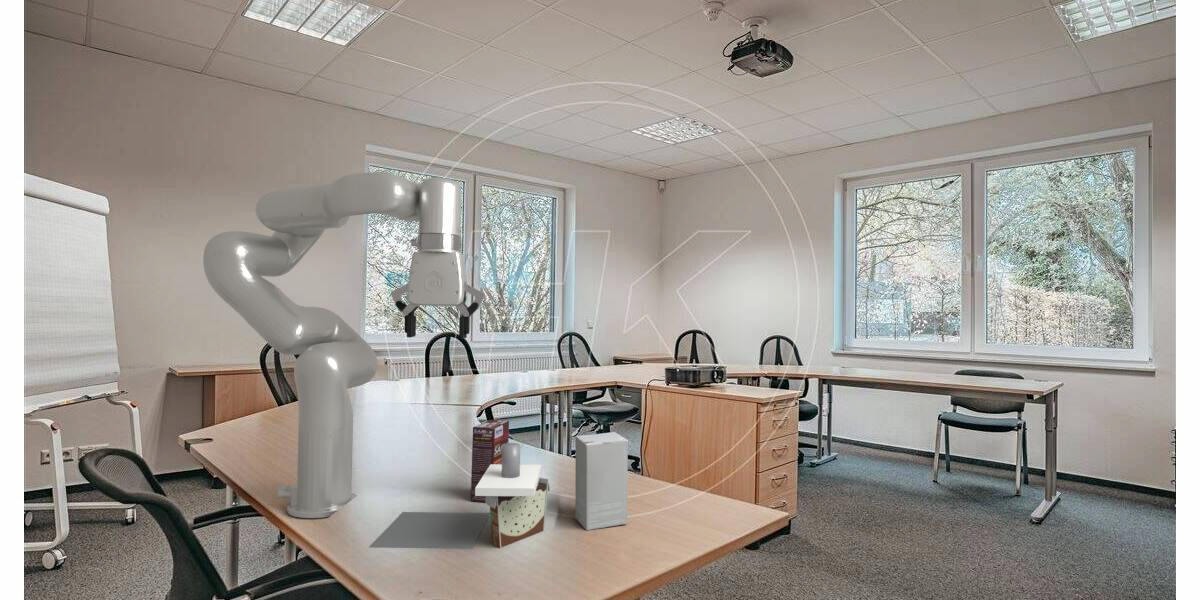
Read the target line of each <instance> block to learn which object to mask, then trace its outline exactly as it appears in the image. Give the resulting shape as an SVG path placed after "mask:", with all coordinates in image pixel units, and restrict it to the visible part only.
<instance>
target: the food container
mask: <svg viewBox="0 0 1200 600" xmlns="http://www.w3.org/2000/svg"><path fill="white" fill-rule="evenodd" d="M548 492H551V486H550V482H549V478H545V477H540V478H539V481H538V484H537V488H536V491H535V495H534V496H486V499H485V502H486V503H485V504H486V505H487V506H489V513H490V516H489V518H490V529H491V543H492V544H493V545H494V546H495V547H497V548H498V549H501V548H504V547H506V546H509V545H512V544H514V543H517V542H519V541H522V540H525V539H526V538H529V537H532V536H534V535H537V534H539V533H541V532H545V527H546V525H545V524H546V515H547V514H546V513H547V503H548Z"/></svg>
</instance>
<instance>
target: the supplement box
mask: <svg viewBox="0 0 1200 600" xmlns="http://www.w3.org/2000/svg"><path fill="white" fill-rule="evenodd" d="M509 432H510V420H505V419H504V420H502V419H501V420H500V419H488V420H486V421H484V422H482V423H480V424H478V425H474V426H473V427H472V445H471V446H472V447H471V477H470V503H480V504H486V502H485V499H486V496H475V488H476V486H477V485H478V483H479V481H480V480H481V478H482V477H483V475H484V474H485V472H486V471H487V469H488V467H489V466H490V464H502V445H503V444H507V443H510V442H509V438H510V436H509V435H510V433H509Z"/></svg>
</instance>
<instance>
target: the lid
mask: <svg viewBox="0 0 1200 600" xmlns="http://www.w3.org/2000/svg"><path fill="white" fill-rule="evenodd" d="M541 475H542V464H521V444H520V443H516V442H509V443H507V444H503V445H502V464H490V466H489V467H488V469H487V471H486V472H485V474H484V475H483V477H482V478H481V480H480V481H479V483H478V485H477V486H476V488H475V496H534V495H535V491H536V488H537V484H538V481H539V478H541Z"/></svg>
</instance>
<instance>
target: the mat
mask: <svg viewBox="0 0 1200 600" xmlns="http://www.w3.org/2000/svg"><path fill="white" fill-rule="evenodd" d="M489 518H490V512H441V511H439V512H436V511H434V512H431V511H430V512H429V511H428V512H427V511H426V512H425V511H402V512H401V513H400V514H399V515H398V516H397V518H395V519H394V520H393V521H392V522H391V524H389V526H388V527H386V529H385V530H383V532H382V533H381V534H380V535H379V536H378V537H376V539H375V540H373V542H372V543H371V544H370V545H369V547H368V548H382V549H383V548H389V549H390V548H392V549H397V548H399V549H401V548H402V549H454V550H455V549H458V550H459V549H460V550H461V549H463V550H467V549H468V550H470V549H471V550H473V547H474V546H475V544H476V542H477V540H478V538H479V537H480V534H481V533H482V531H483V529H484V527H485V525H486V524H487V521H488V520H489Z"/></svg>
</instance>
